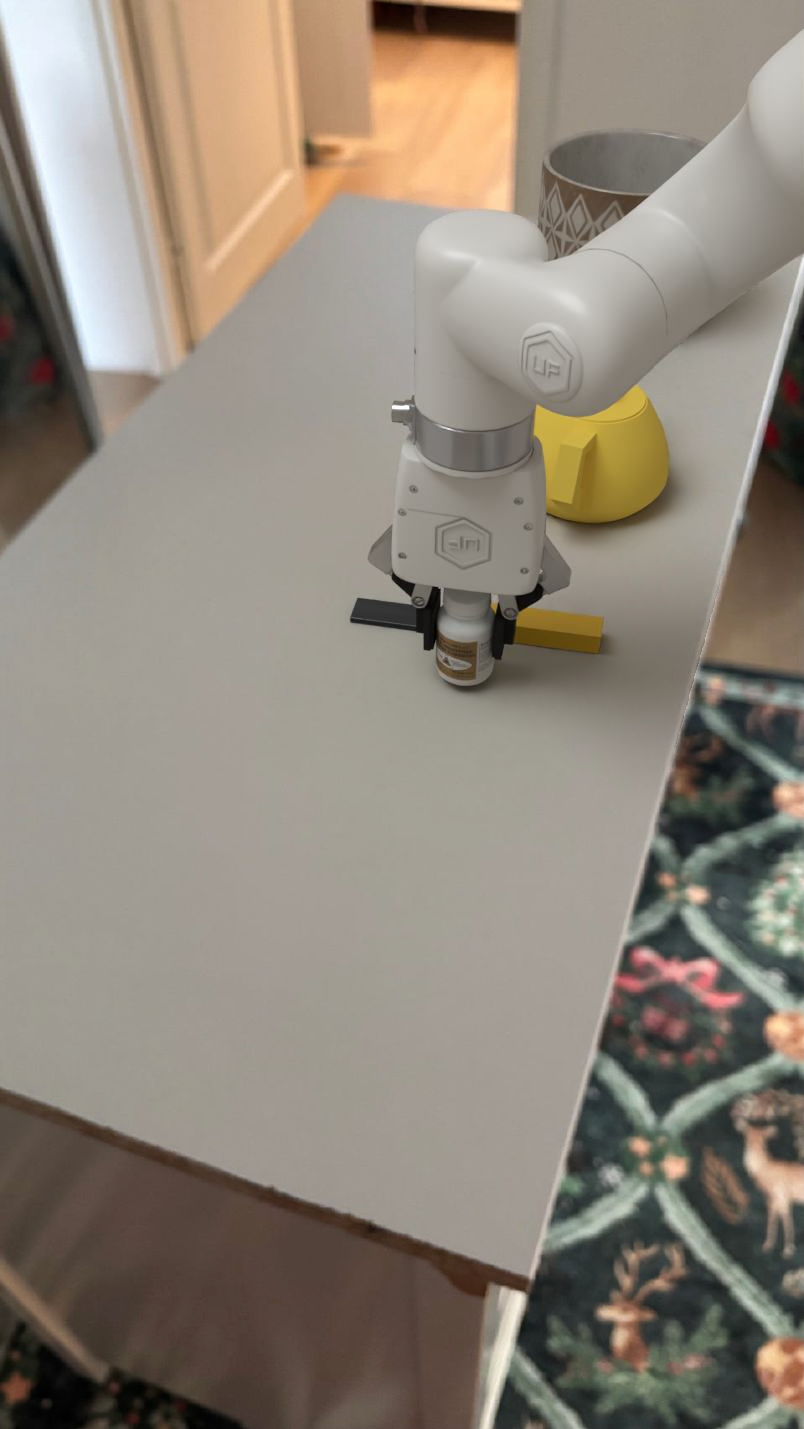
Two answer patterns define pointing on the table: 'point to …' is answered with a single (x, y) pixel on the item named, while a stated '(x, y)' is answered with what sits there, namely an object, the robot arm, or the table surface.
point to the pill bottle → (464, 637)
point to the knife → (530, 622)
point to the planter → (603, 180)
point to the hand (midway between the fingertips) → (465, 641)
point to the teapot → (603, 460)
